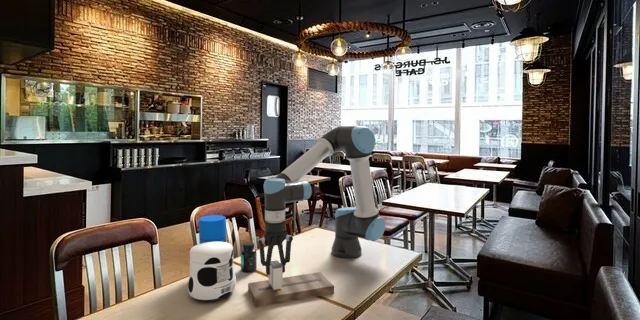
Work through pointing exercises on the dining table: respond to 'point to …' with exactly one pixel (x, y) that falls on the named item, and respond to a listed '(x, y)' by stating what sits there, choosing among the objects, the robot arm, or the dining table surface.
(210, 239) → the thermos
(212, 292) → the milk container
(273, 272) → the fader
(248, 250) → the supplement bottle
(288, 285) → the wooden slotted board
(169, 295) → the dining table surface
